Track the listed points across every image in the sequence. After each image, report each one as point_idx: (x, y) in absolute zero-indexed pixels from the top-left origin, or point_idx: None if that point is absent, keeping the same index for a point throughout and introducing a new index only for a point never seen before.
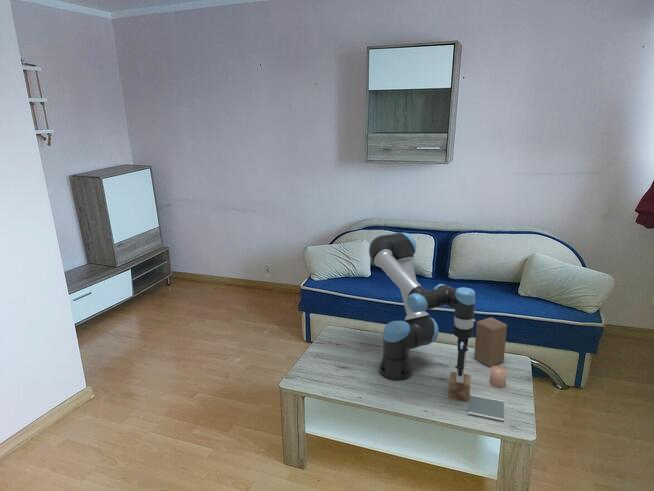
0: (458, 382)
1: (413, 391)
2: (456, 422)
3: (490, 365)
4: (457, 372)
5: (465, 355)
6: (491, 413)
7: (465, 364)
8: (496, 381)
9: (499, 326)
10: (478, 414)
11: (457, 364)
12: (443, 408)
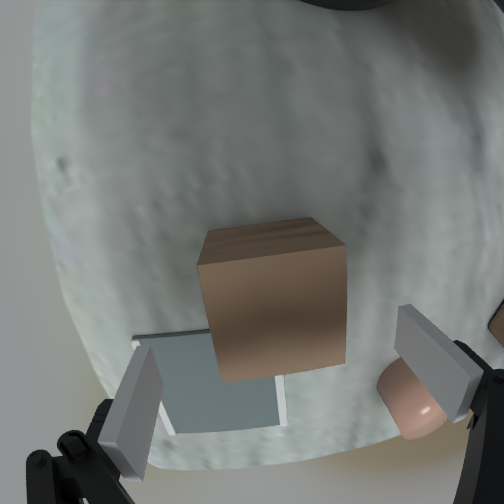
0: (218, 324)
1: (186, 50)
2: (66, 303)
3: (492, 332)
4: (116, 406)
5: (438, 398)
6: (186, 405)
7: (400, 354)
8: (388, 397)
9: None
10: None
11: (28, 486)
12: (116, 232)
